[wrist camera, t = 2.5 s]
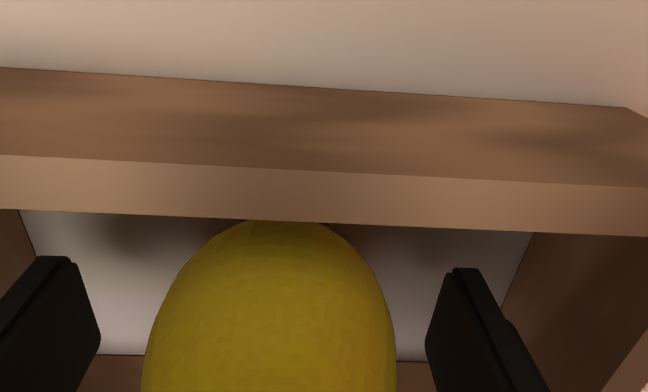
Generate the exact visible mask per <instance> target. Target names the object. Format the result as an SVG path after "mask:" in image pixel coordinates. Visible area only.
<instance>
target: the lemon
mask: <svg viewBox="0 0 648 392" xmlns="http://www.w3.org/2000/svg"><path fill="white" fill-rule="evenodd" d="M141 392H396V347H395V336H394V330H393V324H392V320H391V316H390V312H389V309H388V306H387V304H386V301H385V298H384V296H383V294H382V291H381V289H380V287H379V284H378V282H377V280H376V278H375V276H374V273H373V272H372V270H371V268H370V267H369V265H368V264H367V263H366V261H365V260H364V259H363V258H362V257H361V256H360V254H359V253H358V252H357V251H356V250H355V249H354V248H353V246H352V245H351V244H350V243H349V242H348V241H346V240H345V239H343V238H342V237H340V236H339V235H338V234H336V233H335V232H333V231H332V230H330V229H329V228H327V227H326V226H323V225H320V224H318V223H315V222H296V221H274V220H248V221H245V222H241V223H239V224H236V225H234V226H232V227H230V228H229V229H227V230H225V231H223V232H221V233H220V234H218V235H216V236H215V237H213V238H212V239H211V240H209V241H208V242H207V243H206V244H205V245H204V246H203V247H202V248H201V249H200V250H199V251H198V252H197V253H196V254H195V255H194V256H193V257H192V258H191V259H190V260H189V261H188V262H187V263H186V264H185V265H184V267H183V268H182V269H181V271H180V272H179V274H178V275H177V277H176V278H175V280H174V282H173V284H172V285H171V287H170V289H169V291H168V293H167V295H166V297H165V299H164V301H163V303H162V305H161V307H160V310H159V312H158V314H157V316H156V318H155V321H154V324H153V327H152V330H151V333H150V336H149V340H148V344H147V348H146V353H145V359H144V364H143V372H142V381H141Z"/></svg>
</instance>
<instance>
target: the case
mask: <svg viewBox="0 0 648 392" xmlns="http://www.w3.org/2000/svg"><path fill="white" fill-rule="evenodd" d="M17 209H23V210H45V211H68V212H91V213H114V214H137V215H160V216H182V217H205V218H228V219H251V220H274V221H296V222H319V223H342V224H365V225H388V226H411V227H433V228H456V229H479V230H502V231H525V232H535V233H534V235H533V237H532V239H531V242H530V244H529V246H528V249H527V251H526V253H525V255H524V258H523V260H522V262H521V265H520V267H519V269H518V271H517V274H516V276H515V278H514V280H513V283H512V285H511V287H510V290H509V292H508V294H507V296H506V299H505V301H504V303H503V306H502V308H501V312H502V313H503V315H504V317H505V319H506V320H509V321H510V322H511V323H512V324H513V325H514V327H515V328H516V330H517V331H518V333H519V335H520V337H521V339H522V340H523V342H524V344H525V346H526V348H527V350H528V351H529V353H530V355H531V357H532V359H533V360H534V362H535V364H536V366H537V368H538V369H539V371H540V373H541V375H542V377H543V378H544V380H545V382H546V384H547V386H548V388H549V389H550V391H551V392H640V391H641V390H642V388H643V387H644V386H645V385H646V384H647V382H648V118H646V117H644V116H642V115H640V114H638V113H636V112H634V111H632V110H630V109H628V108H623V107H608V106H592V105H577V104H561V103H546V102H530V101H515V100H499V99H484V98H468V97H453V96H437V95H422V94H406V93H390V92H375V91H359V90H344V89H328V88H313V87H297V86H282V85H266V84H251V83H235V82H220V81H204V80H189V79H173V78H158V77H142V76H127V75H111V74H96V73H80V72H65V71H49V70H34V69H18V68H3V67H0V299H1V298H2V297H3V295H4V294H5V293H6V292H7V291H8V290H9V289H10V287H11V286H12V285H13V284H14V283H15V282H16V281H17V279H18V278H19V277H20V276H21V275H22V274H23V273H24V271H25V270H26V269H27V268H28V267H29V266H30V264H31V263H32V262H33V261H34V260H35V259H36V256H35V253H34V251H33V248H32V246H31V243H30V241H29V238H28V236H27V233H26V231H25V228H24V226H23V223H22V221H21V218H20V216H19V213H18V211H17ZM144 359H145V356H113V355H95V356H94V358H93V360H92V362H91V364H90V366H89V368H88V370H87V372H86V374H85V375H84V377H83V379H82V381H81V383H80V385H79V387H78V389H77V391H76V392H141V381H142V372H143V364H144ZM396 392H437V389H436V386H435V383H434V379H433V376H432V373H431V369H430V366H429V363H421V362H396Z"/></svg>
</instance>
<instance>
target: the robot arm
mask: <svg viewBox="0 0 648 392" xmlns="http://www.w3.org/2000/svg"><path fill="white" fill-rule="evenodd" d="M100 341H101V334H100V331H99V328H98V325H97V322H96V319H95V316H94V313H93V310H92V307H91V304H90V301H89V298H88V295H87V292H86V289H85V286H84V283H83V280H82V277H81V274H80V271H79V268H78V266H77V264H76V263H73V262H71V260H70V259H69V258H68V257H66V256H39V257H37V258H36V259H35V260H34V261H33V262H32V263H31V264H30V266H29V267H28V268H27V269H26V270H25V271H24V273H23V274H22V275H21V276H20V277H19V278H18V279H17V281H16V282H15V283H14V284H13V285H12V286H11V287H10V289H9V290H8V291H7V292H6V293H5V294H4V295H3V297H2V298H1V299H0V392H76V391H77V389H78V387H79V385H80V383H81V381H82V379H83V377H84V375H85V374H86V372H87V370H88V368H89V366H90V364H91V362H92V360H93V358H94V356H95V354H96V352H97V350H98V348H99V345H100ZM425 352H426V356H427V359H428V362H429V366H430V369H431V373H432V376H433V379H434V383H435V386H436V389H437V392H551V391H550V389H549V388H548V386H547V384H546V382H545V380H544V378H543V377H542V375H541V373H540V371H539V369H538V368H537V366H536V364H535V362H534V360H533V359H532V357H531V355H530V353H529V351H528V350H527V348H526V346H525V344H524V342H523V340H522V339H521V337H520V335H519V333H518V331H517V330H516V328H515V327H514V325H513V324H512V323H511V322H510V321H509V320H506V319H505V317H504V315H503V313H502V312H501V310H500V308H499V306H498V304H497V302H496V300H495V299H494V297H493V295H492V293H491V291H490V289H489V287H488V286H487V284H486V282H485V280H484V278H483V276H482V274H481V273H480V271H479V270H478V269H477V268H454V269H453V270H452V272H451V273H447V274H446V275H445V277H444V281H443V284H442V287H441V290H440V293H439V297H438V300H437V303H436V306H435V309H434V312H433V316H432V319H431V322H430V325H429V328H428V331H427V335H426V338H425Z"/></svg>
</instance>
